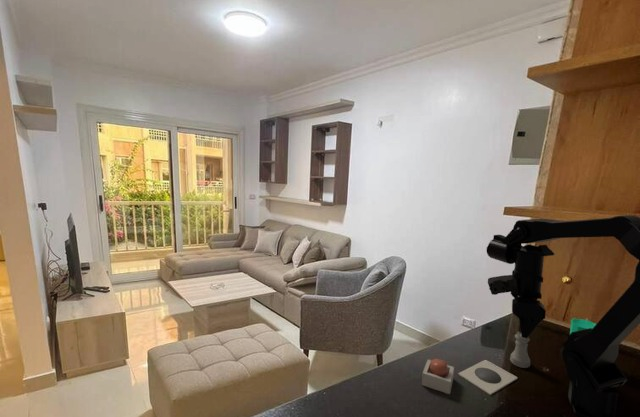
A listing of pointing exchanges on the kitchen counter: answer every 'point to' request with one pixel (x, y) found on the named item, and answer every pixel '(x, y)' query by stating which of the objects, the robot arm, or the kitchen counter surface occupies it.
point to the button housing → (438, 379)
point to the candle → (580, 325)
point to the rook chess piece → (520, 352)
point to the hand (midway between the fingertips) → (523, 329)
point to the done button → (438, 368)
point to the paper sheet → (487, 377)
